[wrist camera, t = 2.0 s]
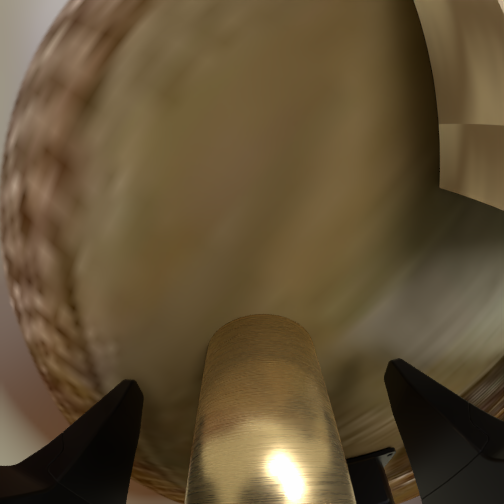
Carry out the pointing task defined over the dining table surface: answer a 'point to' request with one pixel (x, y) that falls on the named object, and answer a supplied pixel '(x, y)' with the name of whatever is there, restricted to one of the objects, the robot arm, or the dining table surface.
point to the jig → (468, 93)
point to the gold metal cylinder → (265, 421)
